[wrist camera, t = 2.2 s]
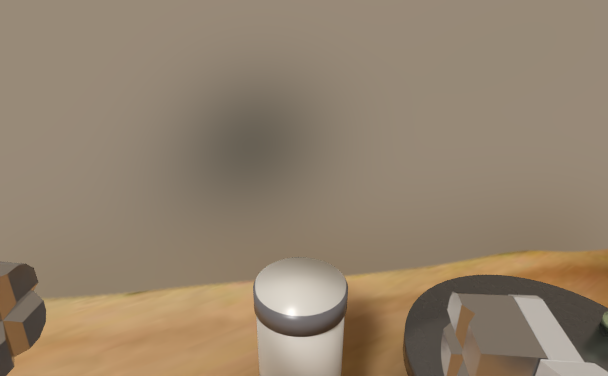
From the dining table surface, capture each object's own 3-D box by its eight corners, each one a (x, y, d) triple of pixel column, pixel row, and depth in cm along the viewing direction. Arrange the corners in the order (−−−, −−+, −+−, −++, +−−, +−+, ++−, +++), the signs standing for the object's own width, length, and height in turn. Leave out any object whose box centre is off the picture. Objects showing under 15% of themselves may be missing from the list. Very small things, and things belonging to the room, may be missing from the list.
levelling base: (592, 312, 39) (605, 274, 37) (774, 545, 23) (812, 495, 21) (389, 301, 40) (393, 264, 39) (421, 513, 24) (430, 464, 22)
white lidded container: (339, 405, 30) (347, 258, 25) (339, 479, 26) (348, 317, 21) (267, 400, 30) (261, 254, 26) (254, 472, 26) (244, 311, 21)
